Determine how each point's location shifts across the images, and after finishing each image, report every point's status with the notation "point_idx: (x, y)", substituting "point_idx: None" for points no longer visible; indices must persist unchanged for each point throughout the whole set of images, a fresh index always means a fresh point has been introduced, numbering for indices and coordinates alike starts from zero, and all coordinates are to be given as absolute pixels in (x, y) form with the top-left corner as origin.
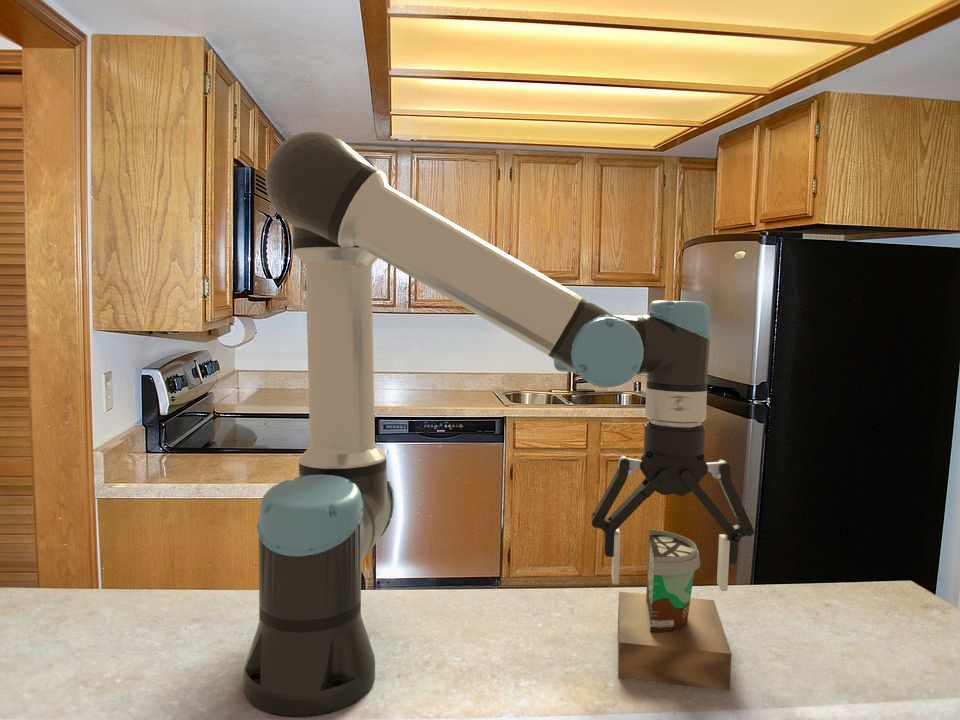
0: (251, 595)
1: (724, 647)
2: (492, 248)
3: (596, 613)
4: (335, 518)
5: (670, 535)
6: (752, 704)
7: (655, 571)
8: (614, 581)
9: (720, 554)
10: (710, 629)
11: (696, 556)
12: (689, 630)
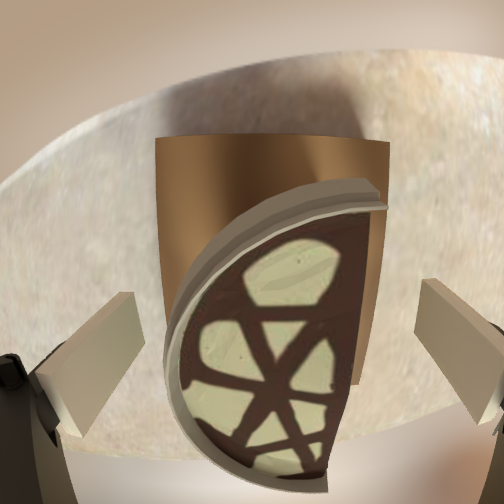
0: None
1: (165, 163)
2: None
3: (375, 369)
4: None
5: (261, 477)
6: (151, 110)
7: (364, 180)
8: (435, 280)
9: (98, 373)
10: (185, 245)
11: (170, 327)
12: None
